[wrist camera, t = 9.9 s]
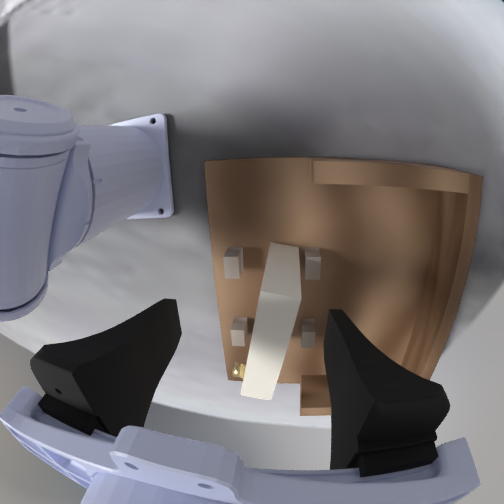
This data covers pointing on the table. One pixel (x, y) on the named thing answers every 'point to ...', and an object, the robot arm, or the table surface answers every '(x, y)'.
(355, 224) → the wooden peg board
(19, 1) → the table surface
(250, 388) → the door
